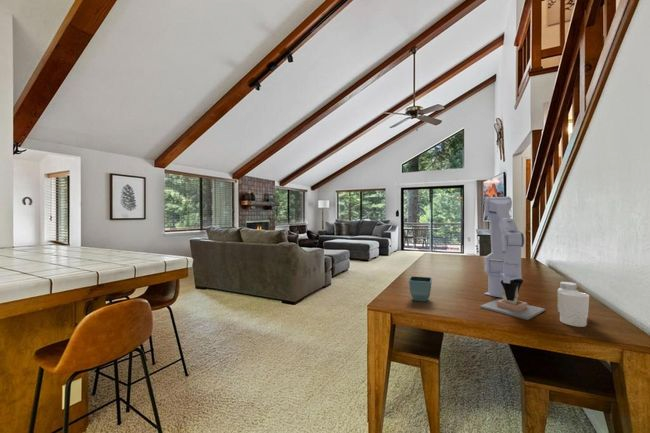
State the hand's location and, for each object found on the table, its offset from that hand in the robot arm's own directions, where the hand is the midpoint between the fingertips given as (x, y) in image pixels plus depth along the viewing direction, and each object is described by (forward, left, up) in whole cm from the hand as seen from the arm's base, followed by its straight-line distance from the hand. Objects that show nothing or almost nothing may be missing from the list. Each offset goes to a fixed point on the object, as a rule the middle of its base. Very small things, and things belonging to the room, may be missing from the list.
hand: (512, 299), depth 111 cm
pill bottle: (-12, +14, -4) cm, 19 cm away
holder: (0, 0, -4) cm, 4 cm away
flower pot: (+18, -28, -4) cm, 33 cm away
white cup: (-1, +18, -4) cm, 18 cm away
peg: (0, 0, -2) cm, 2 cm away
